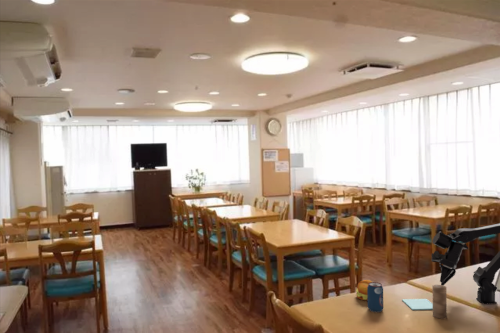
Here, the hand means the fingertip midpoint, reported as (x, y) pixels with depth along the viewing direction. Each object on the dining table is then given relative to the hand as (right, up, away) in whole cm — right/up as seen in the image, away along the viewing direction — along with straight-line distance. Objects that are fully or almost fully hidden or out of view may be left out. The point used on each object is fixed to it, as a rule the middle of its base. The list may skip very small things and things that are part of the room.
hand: (441, 283), depth 186 cm
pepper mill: (-7, -10, -13) cm, 18 cm away
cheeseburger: (-32, -10, +10) cm, 36 cm away
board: (-10, -10, 0) cm, 14 cm away
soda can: (-33, -11, -5) cm, 35 cm away
